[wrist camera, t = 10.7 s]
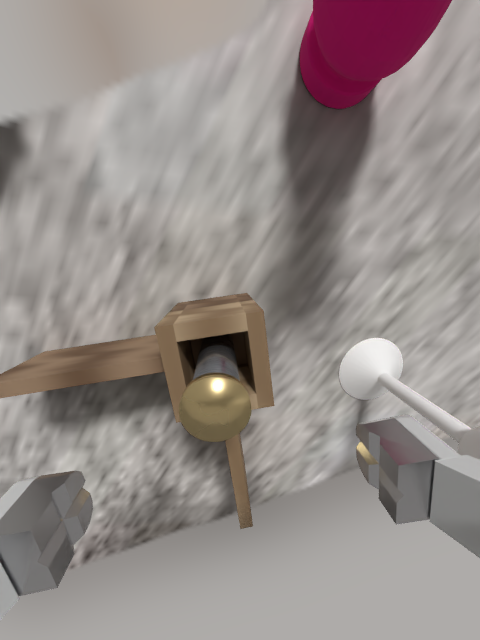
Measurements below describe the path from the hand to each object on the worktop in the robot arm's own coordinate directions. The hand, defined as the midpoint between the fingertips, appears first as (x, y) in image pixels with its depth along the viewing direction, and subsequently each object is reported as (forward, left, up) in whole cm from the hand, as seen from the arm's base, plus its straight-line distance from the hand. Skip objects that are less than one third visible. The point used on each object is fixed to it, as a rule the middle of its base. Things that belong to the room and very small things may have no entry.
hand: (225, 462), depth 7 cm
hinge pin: (0, 0, -11) cm, 11 cm away
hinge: (+6, +6, -15) cm, 17 cm away
